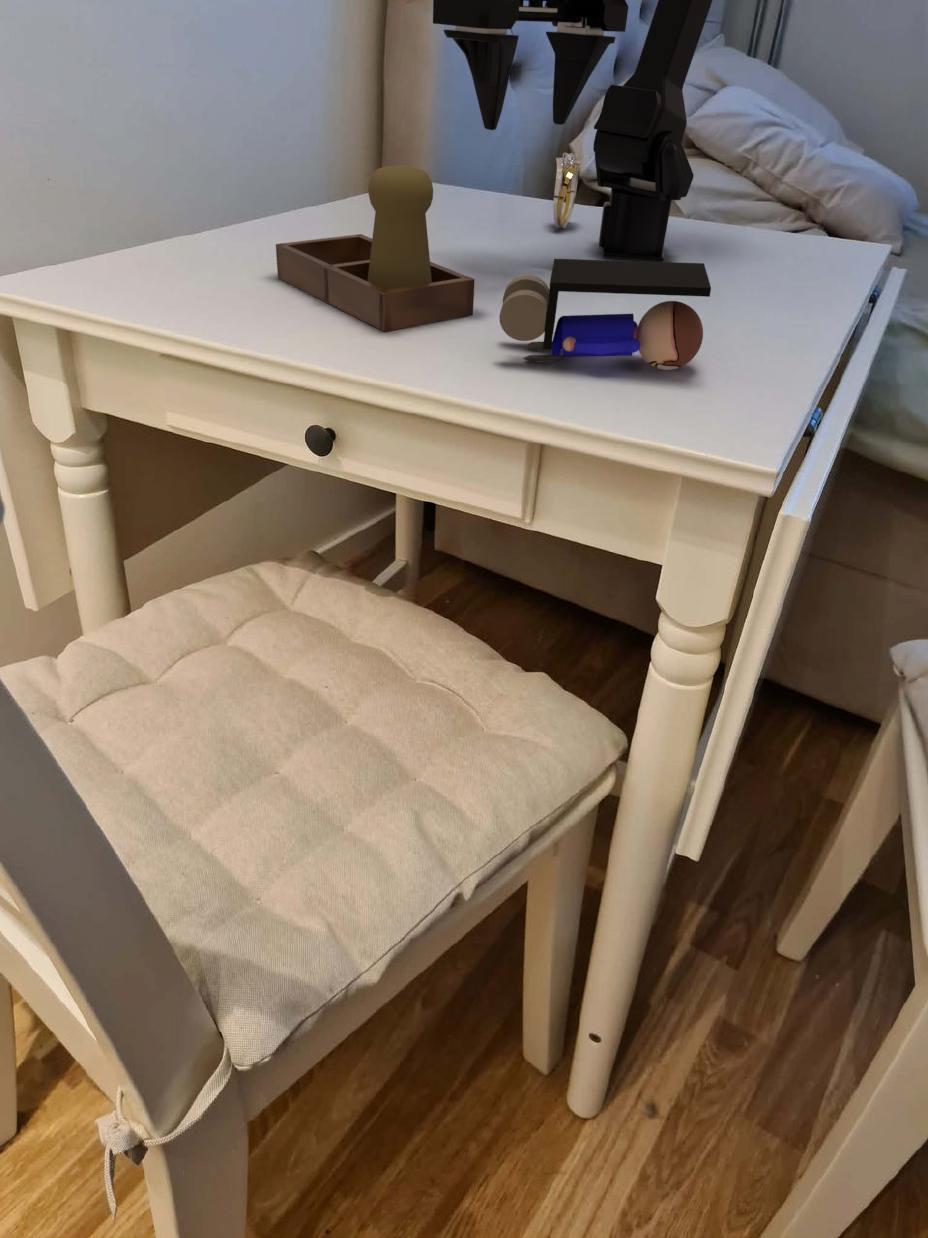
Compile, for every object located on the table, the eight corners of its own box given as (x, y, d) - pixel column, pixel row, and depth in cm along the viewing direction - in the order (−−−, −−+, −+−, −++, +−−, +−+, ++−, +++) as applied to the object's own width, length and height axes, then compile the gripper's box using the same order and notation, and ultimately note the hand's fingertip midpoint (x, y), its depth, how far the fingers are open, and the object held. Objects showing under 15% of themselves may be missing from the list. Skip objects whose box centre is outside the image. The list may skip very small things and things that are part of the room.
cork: (444, 303, 78) (449, 165, 72) (419, 323, 73) (423, 176, 67) (380, 294, 79) (380, 157, 73) (353, 312, 75) (350, 168, 68)
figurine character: (500, 387, 66) (704, 382, 65) (495, 282, 62) (715, 274, 60) (506, 357, 72) (695, 352, 70) (502, 259, 68) (704, 251, 66)
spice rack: (361, 266, 87) (361, 233, 85) (473, 314, 76) (475, 278, 74) (277, 277, 82) (275, 243, 80) (383, 331, 71) (383, 293, 69)
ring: (565, 235, 102) (574, 158, 98) (539, 231, 103) (547, 154, 99) (582, 224, 108) (591, 150, 103) (557, 220, 109) (565, 147, 104)
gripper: (543, -88, 80) (527, 110, 89) (386, -111, 68) (386, 119, 78) (644, -88, 73) (616, 125, 83) (491, -113, 62) (477, 137, 71)
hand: (525, 126), depth 79 cm, fingers open, 9 cm apart
